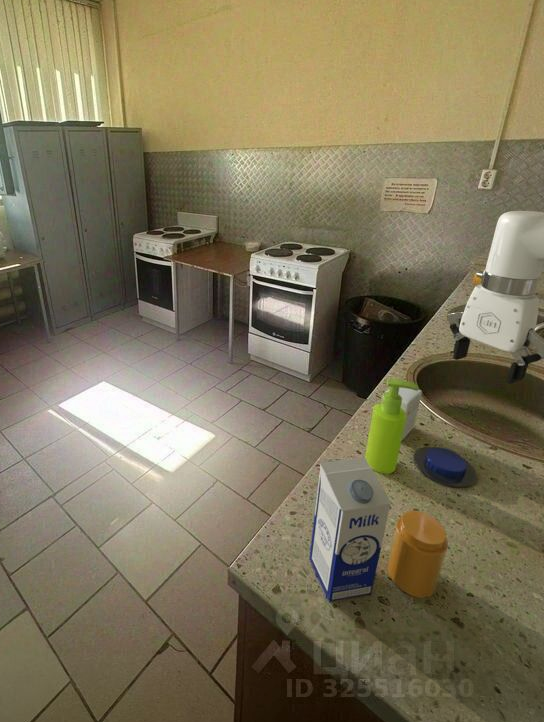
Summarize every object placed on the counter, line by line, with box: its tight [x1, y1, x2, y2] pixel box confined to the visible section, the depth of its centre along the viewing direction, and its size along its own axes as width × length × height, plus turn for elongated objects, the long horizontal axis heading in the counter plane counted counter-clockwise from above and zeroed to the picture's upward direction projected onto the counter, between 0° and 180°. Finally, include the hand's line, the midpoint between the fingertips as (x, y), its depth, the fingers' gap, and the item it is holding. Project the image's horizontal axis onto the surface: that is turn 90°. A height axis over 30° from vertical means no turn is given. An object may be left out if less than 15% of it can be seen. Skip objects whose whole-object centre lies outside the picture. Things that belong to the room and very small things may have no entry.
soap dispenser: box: [364, 378, 420, 475], centre depth 79 cm, size 6×7×20 cm
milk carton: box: [309, 456, 392, 602], centre depth 58 cm, size 7×7×20 cm
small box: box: [380, 388, 423, 442], centre depth 91 cm, size 8×6×10 cm
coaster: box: [412, 446, 477, 489], centre depth 81 cm, size 11×11×1 cm
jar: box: [386, 510, 449, 599], centre depth 59 cm, size 7×7×10 cm
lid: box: [425, 446, 467, 478], centre depth 81 cm, size 7×7×2 cm
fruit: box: [472, 269, 485, 286], centre depth 183 cm, size 9×8×8 cm
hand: (484, 369), depth 75 cm, fingers open, 9 cm apart
